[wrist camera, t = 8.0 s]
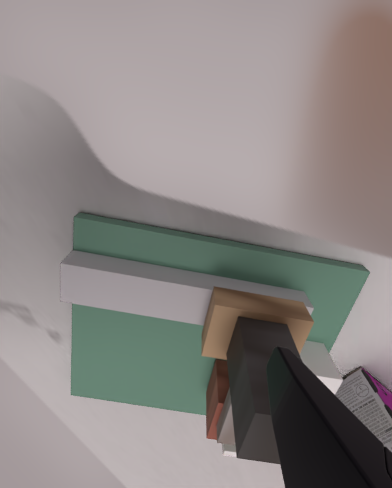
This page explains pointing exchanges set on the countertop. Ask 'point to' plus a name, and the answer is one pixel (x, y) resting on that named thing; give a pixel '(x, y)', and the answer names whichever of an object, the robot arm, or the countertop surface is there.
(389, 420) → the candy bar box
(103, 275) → the board
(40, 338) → the countertop surface
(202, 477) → the countertop surface
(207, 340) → the multicolored block structure
